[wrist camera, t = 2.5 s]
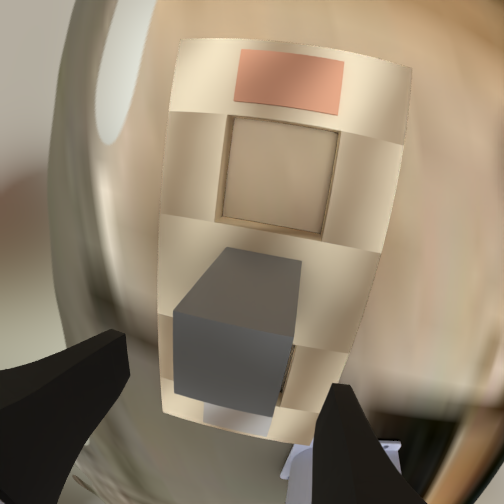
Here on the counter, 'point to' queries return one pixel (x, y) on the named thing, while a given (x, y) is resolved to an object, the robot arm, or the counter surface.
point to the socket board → (270, 236)
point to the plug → (237, 331)
